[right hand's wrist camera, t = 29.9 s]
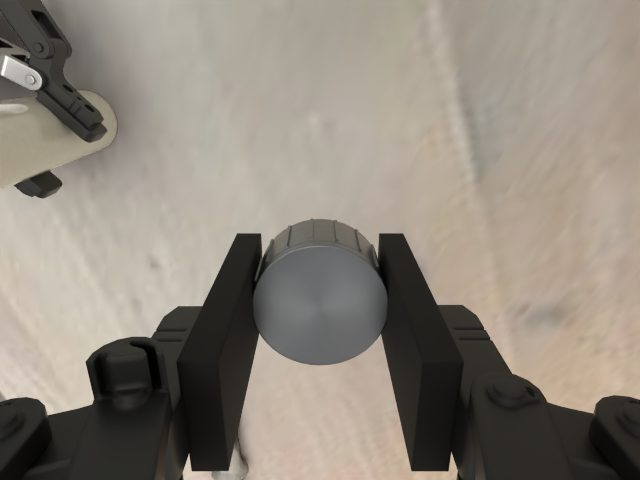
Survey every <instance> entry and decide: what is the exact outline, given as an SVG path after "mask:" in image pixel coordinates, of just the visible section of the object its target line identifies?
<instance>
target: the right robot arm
mask: <svg viewBox="0 0 640 480" xmlns="http://www.w3.org/2000/svg"><path fill="white" fill-rule="evenodd" d="M261 257H262V243H261V234H237V235H236V237H235V239H234V241H233V244H232V246H231V248H230V250H229V252H228V254H227V256H226V258H225V260H224V262H223V265H222V267H221V269H220V271H219V273H218V275H217V277H216V279H215V281H214V283H213V286H212V288H211V290H210V292H209V294H208V296H207V298H206V300H205V302H204V304H203V306H178V307H177V308H175V309H174V310H173V311H171V312H170V313H169V314H167V315H166V316H165V317H164V318H163V319H162V321H161V323H160V324H159V326H158V328H157V329H156V332H154V334H153V336H152V337H151V338H148V337H129V338H124V339H119V340H116V341H114V342H111V343H109V344H106V345H104V346H102V347H101V348H99V349H98V350H96V351H95V352H94V353H92V355H91V356H90V357H89V358H88V360H87V361H86V365H87V370H88V374H89V378H90V382H91V387H92V391H93V395H94V402H93V404H92V405H89V406H86V407H83V408H79V409H75V410H70V411H66V412H61V413H57V414H52V415H47V412H46V409H45V405H43V404H42V403H41V402H40V401H39V400H37V399H33V398H28V397H24V398H14V399H9V400H6V401H2V402H0V480H183V470H184V467H185V464H186V461H187V458H188V455H189V454H190V461H191V468H192V471H229V467H230V463H231V458H232V454H233V449H234V445H235V440H236V436H237V431H238V427H239V422H240V418H241V413H242V409H243V404H244V400H245V395H246V391H247V386H248V382H249V377H250V373H251V368H252V364H253V359H254V355H255V350H256V346H257V341H258V337H259V331H258V330H257V327H256V325H255V323H254V314H253V290H254V287H255V282H254V279H255V276H256V273H257V269H258V266H259V263H260V259H261ZM378 262H379V265H380V268H381V272H382V275H383V279H384V282H385V286H386V289H387V292H388V302H387V318H386V324H385V326H384V328H383V330H382V332H381V335H382V340H383V344H384V349H385V353H386V358H387V363H388V367H389V372H390V376H391V381H392V385H393V390H394V394H395V399H396V403H397V408H398V412H399V417H400V421H401V426H402V430H403V435H404V439H405V444H406V448H407V453H408V457H409V462H410V466H411V471H448V470H449V463H450V456H451V452H452V454H453V457H454V460H455V463H456V466H457V469H458V473H457V480H640V400H638V399H635V398H632V397H626V396H615V395H614V396H609V397H604V398H602V399H601V400H600V401H599V402H598V403H596V406H595V410H594V413H593V414H592V413H587V412H583V411H578V410H574V409H569V408H565V407H561V406H557V405H554V404H550V403H548V402H547V401H546V398H545V397H544V395H543V394H542V392H541V391H540V390H539V389H538V388H537V387H536V386H535V385H533V384H532V383H531V382H529V381H528V380H526V379H524V378H521V377H519V376H517V375H515V374H512V373H511V371H510V369H509V368H508V366H507V364H506V363H505V361H504V359H503V358H502V356H501V355H500V353H499V351H498V350H497V348H496V346H495V345H494V343H493V342H492V341H491V340H490V337H489V335H488V333H487V332H486V330H484V327H483V325H482V324H481V322H480V320H479V319H478V317H477V315H475V314H474V313H472V312H471V311H470V310H468V309H467V308H466V307H464V306H463V305H437V304H436V302H435V300H434V298H433V295H432V293H431V291H430V289H429V287H428V285H427V283H426V281H425V279H424V277H423V274H422V272H421V270H420V268H419V266H418V264H417V262H416V260H415V258H414V256H413V253H412V251H411V249H410V247H409V245H408V243H407V241H406V239H405V237H404V235H403V234H379V249H378Z"/></svg>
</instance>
